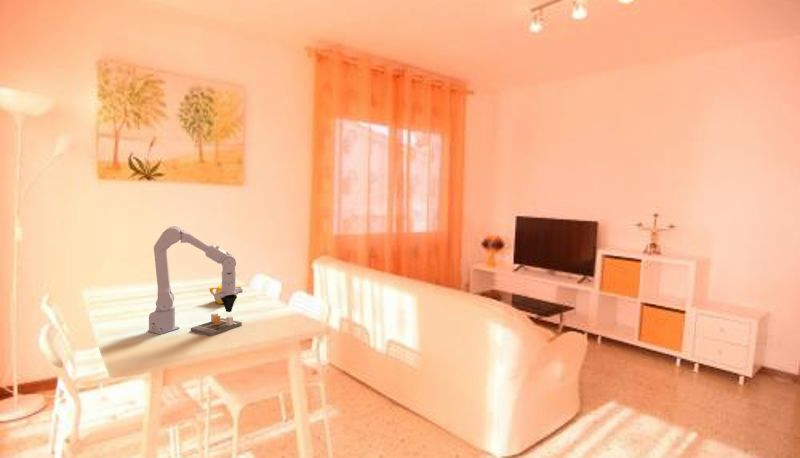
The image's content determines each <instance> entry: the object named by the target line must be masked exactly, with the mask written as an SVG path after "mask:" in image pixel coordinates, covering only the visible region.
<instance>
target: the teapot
mask: <svg viewBox="0 0 800 458" xmlns="http://www.w3.org/2000/svg"><path fill="white" fill-rule="evenodd" d="M238 288H241V289H242V286H237V285H236V286H235V289H238ZM208 289H209V292H210V293H211V295H212V296H213V297H214V294H217V293H219V292H222V284H219V285H217V287H214V286H213V287H209V288H208ZM213 290H215V292H214V291H213ZM235 295H236V296H238V294H235ZM214 300H215V302H216V304H218V305H222V304H223V302H222V300H221V298H219V299H214ZM223 305H224V304H223Z"/></svg>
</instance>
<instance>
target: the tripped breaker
mask: <svg viewBox="0 0 800 458" xmlns="http://www.w3.org/2000/svg"><path fill="white" fill-rule="evenodd" d="M220 319H221V315H218V316H214V317H213V324H214V325H219V324H220Z"/></svg>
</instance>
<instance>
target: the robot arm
mask: <svg viewBox="0 0 800 458" xmlns="http://www.w3.org/2000/svg"><path fill="white" fill-rule="evenodd" d="M179 241H180V244H182V243H183V244H185V243H187V244H190V245H191V246H194V247H195V248H197V249H199V250H200V251H203V252H204V253H205V256H206V257H207V258H208V259H210V260H212V261H213V262H215V263H217V264H219V265H220V264H221V266H222V271H221V285H222V292H219V293H217V294H215V293H214V296H213V300H215V299H219V298H221V300H222V302H223V306H224V310H225V312H226V313H231V312H232V310H233V307H234V304H235V301H236V300H237V298H238V294H243V288H242V287H241V288H235V287H236V266H237V262H236V258H235V257H234V256H233V255H232V254H231V253H229V251H225V250H223V249H221V248H220V246H218V245H214V244H212V245H209V244H207V243H206V242H204V241H203V240H201V239H199V238H198V237H197V236H195V235H193V234H191V233H190V232H188V231H186V230H184V229H181V228H180V227H178V226H170V227H168V228H167V229H165V230H164V231H163V232H162V233H161V234H160V236H159V238H158V239H157V241H156V242H155V243H154V246H153V253H154V263H155V264H154V265H155V274H156V284H157V298H156V301H155V306H156V308H155V310H154V311H153V312H150V314H149V315H148V329H147V332H150V333H153V334H156V335H162V334H166V333H169V332H172V331H176V330H179V329H180V326H176V309H175V308H176V307H175V306H174V302H175V301H174V300H175V296H174V295H175V294H173V292H172V288H171V284H170V283H171V281H170V273H169V260H168V251H167V250H168V249H169V248H170V247H172V245H174V244H177V243H178V242H179ZM235 294H237V295H235Z"/></svg>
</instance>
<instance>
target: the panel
mask: <svg viewBox="0 0 800 458" xmlns="http://www.w3.org/2000/svg"><path fill="white" fill-rule="evenodd" d="M214 316H219V313H218V312H217V313H216V312H213V313H211V314H210V318H211V320H210V321H209V322H206V323H202V324H198V325H195V326H193V327H190V332H193V333H197V334H200V335H201V334H202V335H204V336H209V337H213V336H216V335H219V334H221V333H225V332H227V331H229V330H233V329H236V328H238V327H241V326H243V322H242V321H238V320H234V316H231V315H230V316H226V318H223V317H220V324H219V325H214V324H213V317H214Z"/></svg>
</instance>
